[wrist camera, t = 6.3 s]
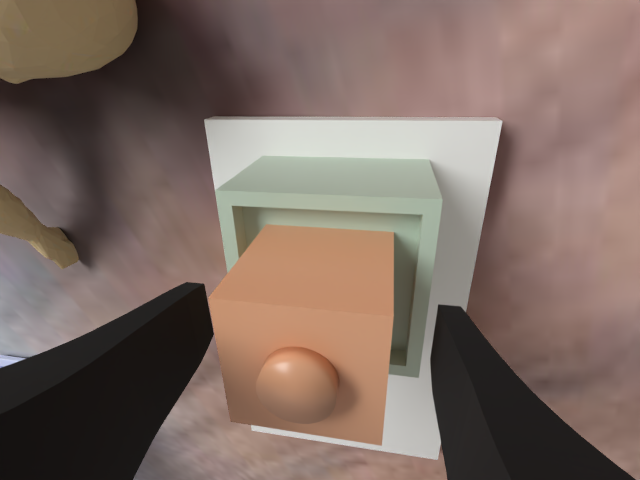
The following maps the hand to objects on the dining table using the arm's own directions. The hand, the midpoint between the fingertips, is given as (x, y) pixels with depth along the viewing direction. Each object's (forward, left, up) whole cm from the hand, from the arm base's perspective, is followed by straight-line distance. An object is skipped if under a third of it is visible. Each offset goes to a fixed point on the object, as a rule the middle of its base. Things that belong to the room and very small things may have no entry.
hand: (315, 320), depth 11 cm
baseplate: (-5, 0, -7) cm, 9 cm away
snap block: (0, 0, -2) cm, 2 cm away
